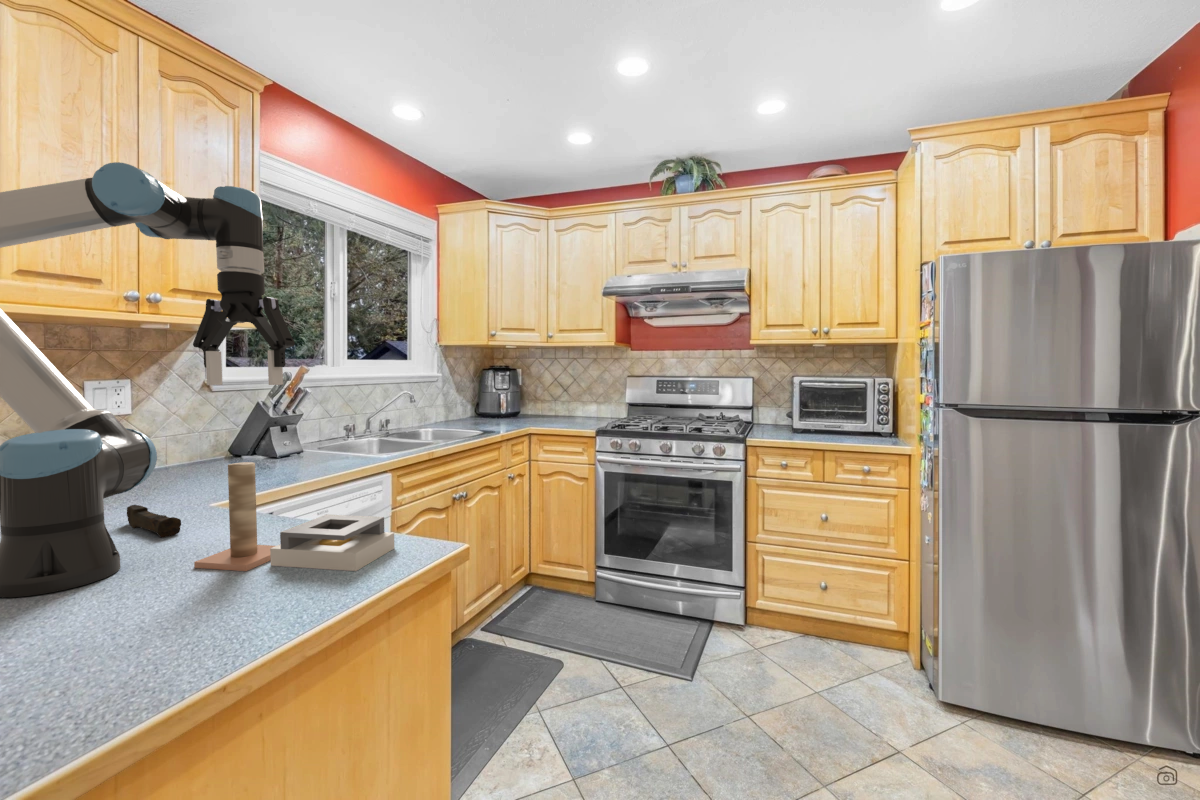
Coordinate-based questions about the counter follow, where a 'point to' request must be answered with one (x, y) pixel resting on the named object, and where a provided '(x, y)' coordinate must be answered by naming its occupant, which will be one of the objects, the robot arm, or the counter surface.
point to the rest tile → (235, 560)
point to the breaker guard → (307, 552)
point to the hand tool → (152, 521)
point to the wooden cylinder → (242, 509)
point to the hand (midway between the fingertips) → (245, 385)
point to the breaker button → (333, 542)
